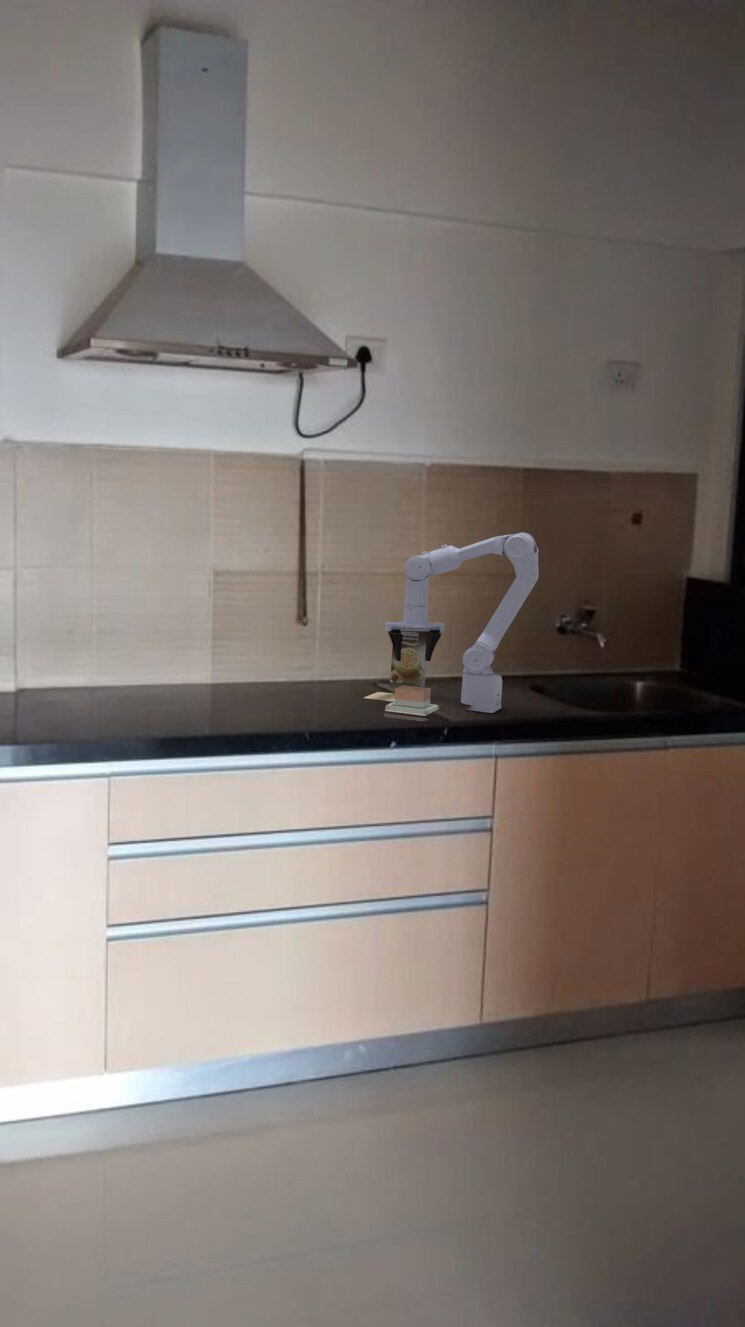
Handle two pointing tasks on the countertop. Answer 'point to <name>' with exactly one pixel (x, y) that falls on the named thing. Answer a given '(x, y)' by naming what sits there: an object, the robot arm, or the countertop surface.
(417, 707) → the housing
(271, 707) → the countertop surface
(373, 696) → the stand
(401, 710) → the stand
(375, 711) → the countertop surface
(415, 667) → the coffee box
